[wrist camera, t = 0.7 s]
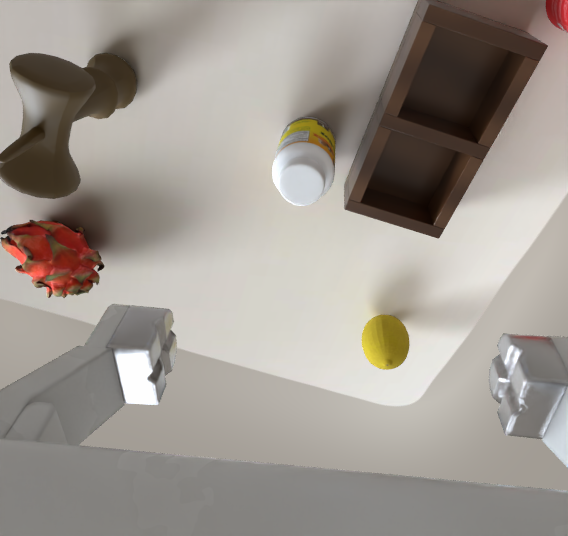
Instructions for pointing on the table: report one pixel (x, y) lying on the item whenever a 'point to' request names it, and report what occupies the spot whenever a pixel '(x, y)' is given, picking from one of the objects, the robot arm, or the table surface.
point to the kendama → (59, 117)
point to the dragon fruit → (53, 256)
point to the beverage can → (558, 13)
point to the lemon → (385, 342)
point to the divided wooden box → (438, 116)
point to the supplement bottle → (305, 161)
